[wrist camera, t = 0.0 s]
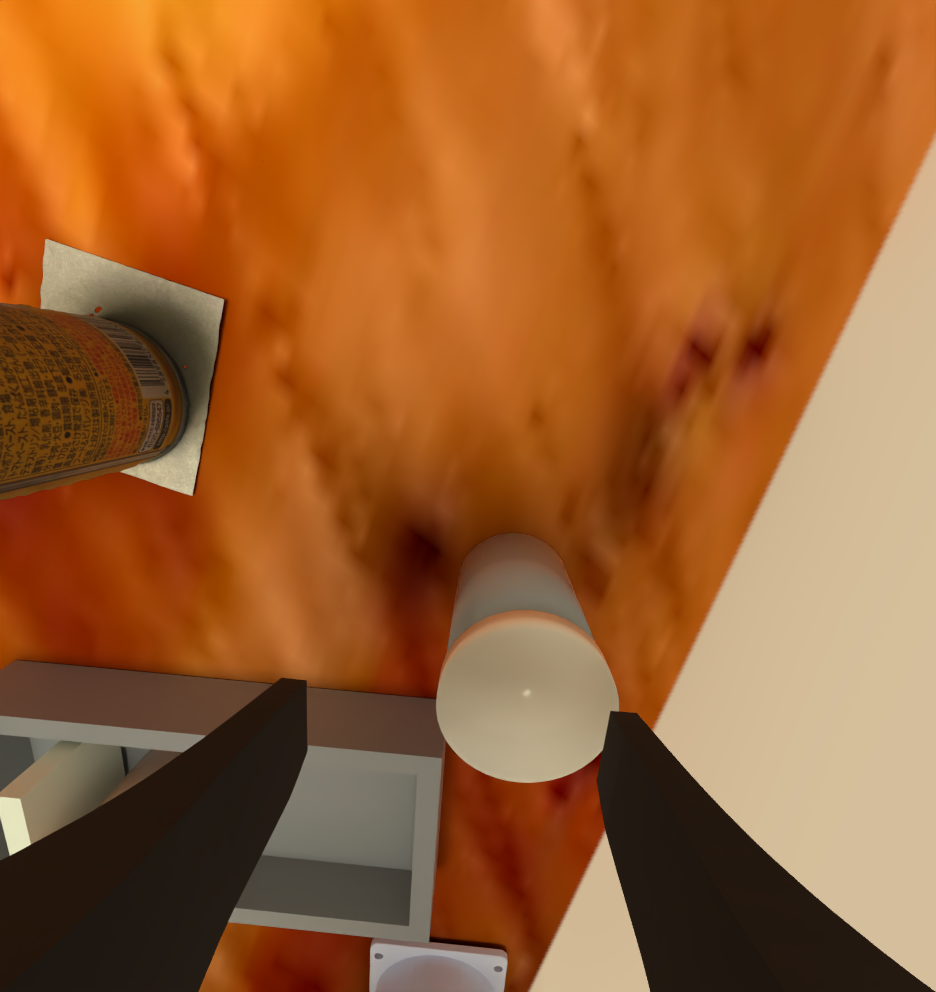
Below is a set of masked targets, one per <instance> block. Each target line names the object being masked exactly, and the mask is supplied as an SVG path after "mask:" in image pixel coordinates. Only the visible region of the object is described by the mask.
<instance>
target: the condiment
mask: <svg viewBox="0 0 936 992" xmlns="http://www.w3.org/2000/svg"><path fill="white" fill-rule="evenodd" d="M40 293H41V309H37V308H34V307H31V306H28V305H21V304H19V305H13V304H6V303H0V500H3V499H9V498H13V497H16V496H21V495H23V496H27V495H29V494H31V493H34V492H36V491H41V490H45V489H53V488H56V487H60V486H65V485H70V484H73V483H75V482H77V481H81V480H87V479H93V478H94V477H96V476H102V475H105V474H107V473H113V472H123V473H126V474H129V475H132V476H135V477H138V478H141V479H144V480H147V481H149V482H152V483H155V484H157V485H160V486H163V487H166V488H169V489H172V490H175V491H178V492H181V493H184V494H188V495H191V496H193V489H194V484H195V479H196V474H197V469H198V464H199V459H200V448H201V445H202V442H203V436H204V431H205V421H206V418H207V409H208V402H209V389H210V382H211V378H212V375H213V369H214V362H215V358H216V353H217V346H218V336H219V324H220V320H221V316H222V310H223V304H224V299H221V298H218V297H215V296H213V295H210V294H206V293H204V292H201V291H198V290H195V289H192V288H189V287H186V286H183V285H180V284H177V283H174V282H171V281H168V280H166V279H163V278H160V277H157V276H154V275H151V274H148V273H145V272H142V271H139V270H136V269H133V268H131V267H128V266H124V265H122V264H119V263H116V262H113V261H110V260H107V259H103V258H101V257H98V256H95V255H92V254H89V253H87V252H84V251H81V250H77V249H75V248H72V247H69V246H66V245H63V244H60V243H57V242H54V241H51V240H48V239H45V253H44V256H43V283H42V285H41V291H40ZM98 306H99V307H102V310H101V311H100V312H99V313H95V311H94V310H95V309H96V308H97V307H98ZM91 313H92V314H94V316H88V315H90V314H91ZM185 365H187V368H184V366H185Z"/></svg>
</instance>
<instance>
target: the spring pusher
mask: <svg viewBox="0 0 936 992" xmlns="http://www.w3.org/2000/svg"><path fill="white" fill-rule="evenodd" d="M124 778H125V772H124V765H123V759H122V752H121V746H114V745H103V744H93V743H83V742H73V741H62V740H60V741H59V742H58V743H57V744H56V745H55V746H53V747H52V748H51V749H50V750H49V751H48V752H46V753H45V754H44V755H43V756H42V757H41V758H39V759H38V760H37V761H36V762H35V763H33V764H32V765H31V766H30V767H29V768H28V769H26V770H25V771H24V772H23V773H22V774H21V775H19V776H18V777H17V778H16V779H15V780H14V781H12V782H11V783H10V784H9V785H8V786H6V787H5V788H4V789H3V790H2V791H1V792H0V818H1V822H2V826H3V830H4V834H5V838H6V842H7V846H8V850H9V854H10V855H12V854H14V853H16V852H18V851H20V850H22V849H24V848H25V847H27V846H29V845H31V844H33V843H35V842H36V841H38V840H40V839H42V838H44V837H46V836H48V835H49V834H51V833H53V832H55V831H57V830H59V829H60V828H62V827H64V826H66V825H68V824H70V823H72V822H73V821H75V820H77V819H79V818H81V817H83V816H84V815H86V814H88V813H89V812H91V811H93V810H95V809H96V808H97V807H98V806H99V805H100V804H101V803H102V802H103V801H104V800H105V799H106V798H107V796H108V795H109V794H110V793H111V792H112V791H113V790H114V789H115V788H116V786H117V785H118V784H119V783H120V782H121V781H122V780H123V779H124Z"/></svg>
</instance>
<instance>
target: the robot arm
mask: <svg viewBox="0 0 936 992" xmlns="http://www.w3.org/2000/svg"><path fill="white" fill-rule="evenodd" d="M307 751H308V744H307V681H306V680H296V679H286V678H281V679H279V680H278V681H277V682H275V683H274V684H273V685H272V686H270V687H269V688H268V689H266V690H265V691H264V692H263V693H261V694H260V695H259V696H257V697H256V698H255V699H254V700H252V701H251V702H250V703H248V704H247V705H246V706H245V707H243V708H242V709H241V710H239V711H238V712H237V713H236V714H234V715H233V716H232V717H230V718H229V719H228V720H227V721H225V722H224V723H223V724H221V725H220V726H219V727H217V728H216V729H215V730H213V731H212V732H211V733H209V734H208V735H207V736H205V737H204V738H203V739H201V740H200V741H199V742H197V743H196V744H194V745H193V746H191V747H190V748H189V749H187V750H186V751H184V752H183V753H181V754H180V755H179V756H177V757H176V758H174V759H173V760H171V761H170V762H169V763H167V764H166V765H164V766H163V767H161V768H160V769H159V770H157V771H156V772H154V773H153V774H151V775H150V776H148V777H147V778H145V779H143V780H142V781H140V782H139V783H137V784H136V785H134V786H132V787H131V788H129V789H128V790H126V791H124V792H123V793H121V794H120V795H118V796H116V797H115V798H113V799H111V800H110V801H108V802H106V803H105V804H103V805H101V806H100V807H98V808H96V809H95V810H93V811H91V812H89V813H88V814H86V815H84V816H83V817H81V818H79V819H77V820H75V821H73V822H72V823H70V824H68V825H66V826H64V827H62V828H60V829H59V830H57V831H55V832H53V833H51V834H49V835H48V836H46V837H44V838H42V839H40V840H38V841H36V842H35V843H33V844H31V845H29V846H27V847H25V848H24V849H22V850H20V851H18V852H16V853H14V854H12V855H10V856H8V857H6V858H4V859H2V860H0V992H198V991H199V989H200V986H201V984H202V982H203V979H204V977H205V974H206V972H207V969H208V967H209V965H210V962H211V960H212V957H213V955H214V953H215V950H216V948H217V945H218V943H219V941H220V938H221V936H222V934H223V932H224V930H225V928H226V925H227V923H228V921H229V919H230V917H231V915H232V912H233V910H234V908H235V906H236V904H237V902H238V900H239V898H240V897H241V895H242V893H243V891H244V889H245V887H246V885H247V883H248V881H249V879H250V877H251V875H252V873H253V871H254V869H255V867H256V865H257V863H258V861H259V859H260V857H261V855H262V853H263V851H264V849H265V847H266V845H267V843H268V841H269V839H270V837H271V835H272V833H273V831H274V829H275V827H276V825H277V823H278V821H279V819H280V817H281V815H282V813H283V811H284V809H285V807H286V805H287V803H288V801H289V799H290V797H291V794H292V792H293V789H294V786H295V784H296V781H297V779H298V776H299V773H300V771H301V768H302V765H303V762H304V760H305V757H306V754H307ZM597 785H598V791H599V797H600V803H601V809H602V814H603V820H604V825H605V830H606V834H607V837H608V841H609V845H610V848H611V852H612V856H613V859H614V863H615V866H616V870H617V873H618V877H619V880H620V883H621V887H622V890H623V894H624V897H625V901H626V904H627V908H628V911H629V915H630V918H631V921H632V925H633V928H634V932H635V936H636V939H637V943H638V946H639V949H640V953H641V956H642V960H643V964H644V968H645V972H646V976H647V980H648V984H649V988H650V992H935V991H934V990H932V989H931V988H930V987H928V986H927V985H925V984H924V983H923V982H921V981H920V980H919V979H917V978H916V977H915V976H913V975H912V974H911V973H909V972H908V971H907V970H905V969H904V968H903V967H901V966H900V965H899V964H898V963H896V962H895V961H894V960H893V959H891V958H890V957H889V956H887V955H886V954H884V953H883V952H882V951H881V950H880V949H878V948H877V947H876V946H875V945H873V944H872V943H871V942H870V941H869V940H867V939H866V938H865V937H863V936H862V935H861V934H860V933H859V932H857V931H856V930H855V929H854V928H852V927H851V926H850V925H849V924H848V923H846V922H845V921H844V920H843V919H841V918H840V917H839V916H838V915H836V914H835V913H834V912H833V911H832V910H830V909H829V908H828V907H827V906H826V905H825V904H823V903H822V902H821V901H820V900H819V899H818V898H816V897H815V896H814V895H813V894H812V893H811V892H809V891H808V890H807V889H806V888H805V887H804V886H803V885H802V884H800V883H799V882H798V881H797V880H796V879H795V878H794V877H793V876H792V875H790V874H789V873H788V872H787V871H786V870H785V869H784V868H783V867H782V866H780V865H779V864H778V863H777V862H776V861H775V860H774V859H773V858H772V857H770V855H768V854H767V853H766V852H765V851H764V850H763V849H762V848H761V847H760V846H759V845H758V844H757V843H756V842H755V841H754V840H753V839H752V838H751V837H750V836H749V835H747V833H746V832H745V831H744V830H743V829H742V828H741V827H740V826H739V825H738V824H737V823H736V822H735V821H734V820H733V819H732V818H731V817H730V816H729V815H728V814H727V813H726V812H725V811H724V810H723V809H722V808H721V807H720V806H719V805H718V804H717V803H716V802H715V801H714V800H713V799H712V798H711V796H710V795H708V793H707V792H706V791H705V790H704V789H703V788H702V787H701V786H700V785H699V784H698V782H697V781H696V780H695V779H694V778H693V777H692V776H691V775H690V774H689V772H688V771H687V770H686V769H685V768H684V767H683V766H682V765H681V764H680V762H679V761H678V760H677V759H676V758H675V757H674V756H673V754H672V753H671V752H670V751H669V750H668V749H667V748H666V746H664V744H663V743H662V742H661V741H660V740H659V738H658V737H657V736H656V735H655V734H654V732H653V731H652V730H651V729H650V728H649V727H648V726H647V724H646V723H645V722H644V721H643V720H642V719H641V718H640V716H639V715H638V714H637V713H629V712H619V711H610V715H609V721H608V726H607V731H606V736H605V741H604V747H603V752H602V757H601V762H600V767H599V772H598V778H597ZM507 964H508V960H507V954H506V952H505V951H503V950H500V949H492V948H483V947H473V946H464V945H455V944H445V943H436V942H429V943H421V942H411V941H402V940H392V939H383V938H374V939H373V940H372V943H371V948H370V985H369V992H504V986H505V978H506V971H507Z"/></svg>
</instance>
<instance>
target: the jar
mask: <svg viewBox="0 0 936 992" xmlns="http://www.w3.org/2000/svg"><path fill="white" fill-rule="evenodd" d="M610 711H619V697H618V692H617V688H616V685H615V682H614V680H613V677H612V675H611V672H610V670H609V667H608V665H607V662H606V660H605V657H604V655H603V654H602V652H601V650H600V648H599V647H598V645H597V644H596V643H595V641H594V639H593V636H592V634H591V631H590V629H589V626H588V624H587V621H586V619H585V616H584V614H583V611H582V609H581V606H580V604H579V601H578V599H577V596H576V594H575V591H574V588H573V586H572V583H571V581H570V578H569V576H568V573H567V571H566V568H565V566H564V563H563V561H562V560H561V558H560V556H559V555H558V554H557V552H556V551H555V550H554V549H553V548H552V547H551V546H549V545H548V544H547V543H546V542H544V541H542V540H540V539H538V538H536V537H534V536H531V535H527V534H522V533H504V534H499V535H495V536H493V537H490V538H488V539H486V540H484V541H482V542H481V543H479V544H478V545H476V546H475V547H474V548H473V549H472V550H471V551H470V552H469V554H468V555H467V556H466V558H465V559H464V561H463V563H462V565H461V568H460V571H459V576H458V582H457V589H456V596H455V602H454V609H453V615H452V622H451V629H450V635H449V642H448V648H447V654H446V656H445V658H444V661H443V664H442V668H441V672H440V679H439V685H438V691H437V698H436V713H437V719H438V723H439V726H440V729H441V732H442V734H443V736H444V738H445V740H446V741H447V743H448V744H449V745H450V747H451V748H452V749H453V751H454V752H455V753H456V754H457V755H458V756H459V757H460V758H461V759H463V760H464V761H465V762H466V763H467V764H469V765H470V766H472V767H473V768H475V769H477V770H479V771H481V772H483V773H485V774H487V775H490V776H492V777H495V778H499V779H502V780H506V781H513V782H525V783H532V782H543V781H549V780H554V779H557V778H561V777H564V776H566V775H569V774H571V773H573V772H575V771H577V770H579V769H581V768H582V767H584V766H585V765H587V764H588V763H589V762H591V761H592V760H593V759H594V758H595V757H596V756H597V755H598V754H599V753H600V752H601V751H602V750H603V747H604V741H605V736H606V731H607V726H608V721H609V715H610Z"/></svg>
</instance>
